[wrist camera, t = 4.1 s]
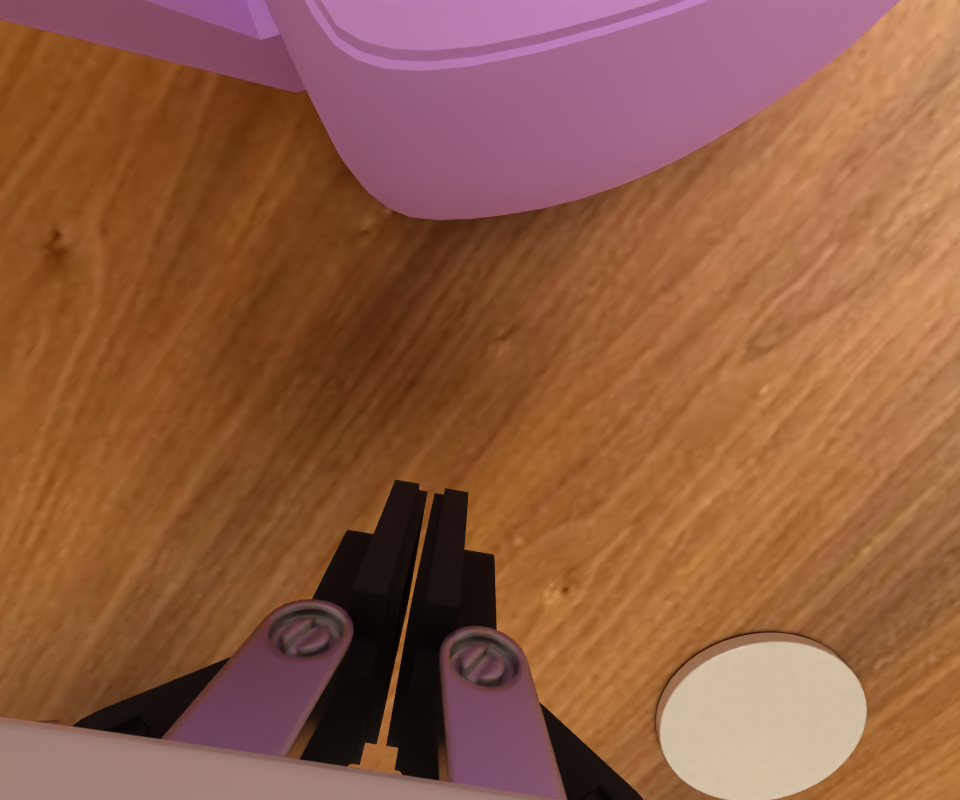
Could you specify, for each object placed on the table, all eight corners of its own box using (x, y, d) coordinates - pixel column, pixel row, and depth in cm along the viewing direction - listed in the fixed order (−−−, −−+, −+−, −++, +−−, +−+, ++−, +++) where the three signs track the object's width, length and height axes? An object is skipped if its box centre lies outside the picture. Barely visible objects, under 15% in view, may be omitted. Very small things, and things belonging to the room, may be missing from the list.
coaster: (632, 774, 24) (636, 786, 24) (688, 616, 22) (694, 626, 21) (814, 801, 24) (822, 815, 24) (890, 650, 22) (901, 660, 21)
